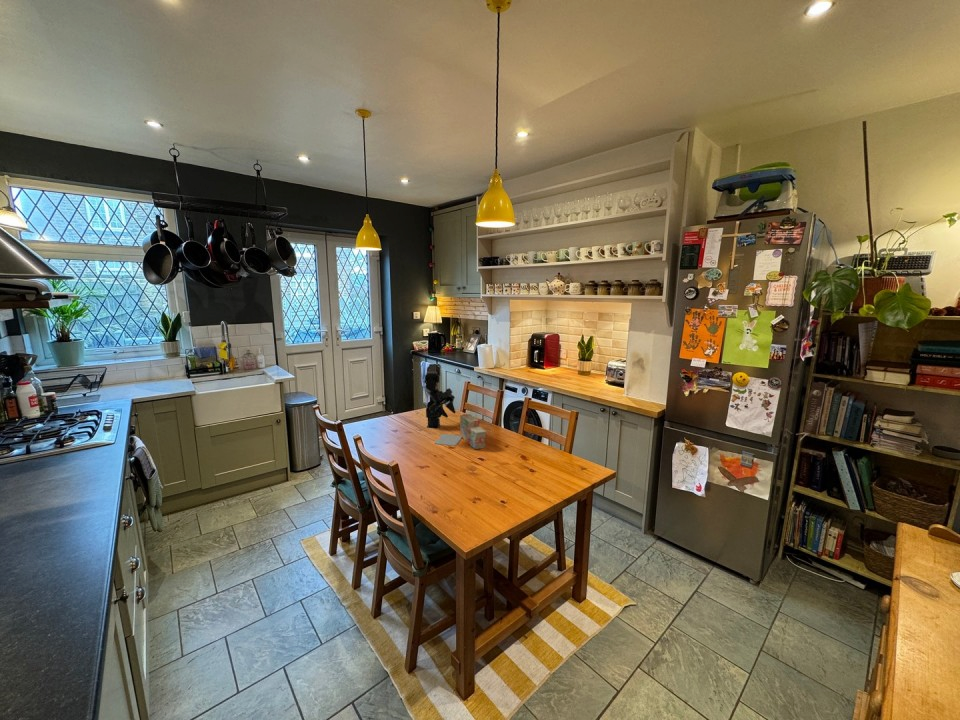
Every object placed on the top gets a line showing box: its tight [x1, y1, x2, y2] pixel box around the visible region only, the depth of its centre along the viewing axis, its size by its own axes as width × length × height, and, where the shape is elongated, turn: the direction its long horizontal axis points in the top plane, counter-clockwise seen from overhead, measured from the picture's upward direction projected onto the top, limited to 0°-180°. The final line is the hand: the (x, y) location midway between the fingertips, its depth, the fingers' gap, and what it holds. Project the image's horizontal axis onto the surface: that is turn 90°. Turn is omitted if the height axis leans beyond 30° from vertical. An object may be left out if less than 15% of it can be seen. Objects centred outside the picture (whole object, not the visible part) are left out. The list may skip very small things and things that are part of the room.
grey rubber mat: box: [434, 433, 462, 447], centre depth 215 cm, size 12×14×1 cm
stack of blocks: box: [459, 413, 487, 450], centre depth 212 cm, size 21×6×12 cm, turn 25°
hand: (451, 415), depth 216 cm, fingers open, 8 cm apart
